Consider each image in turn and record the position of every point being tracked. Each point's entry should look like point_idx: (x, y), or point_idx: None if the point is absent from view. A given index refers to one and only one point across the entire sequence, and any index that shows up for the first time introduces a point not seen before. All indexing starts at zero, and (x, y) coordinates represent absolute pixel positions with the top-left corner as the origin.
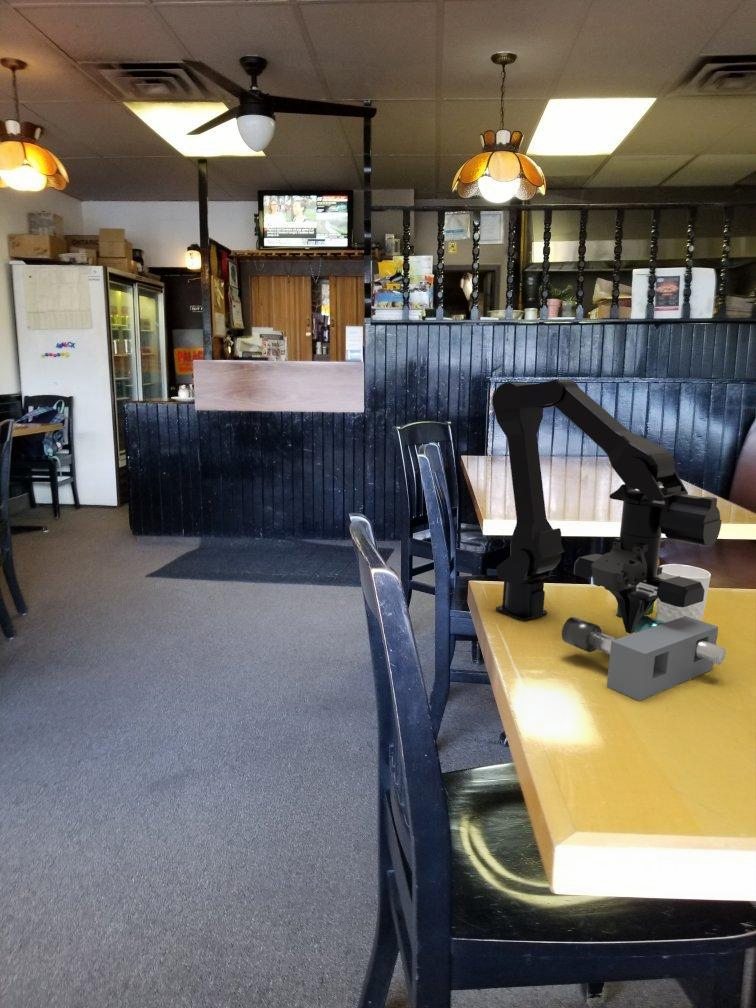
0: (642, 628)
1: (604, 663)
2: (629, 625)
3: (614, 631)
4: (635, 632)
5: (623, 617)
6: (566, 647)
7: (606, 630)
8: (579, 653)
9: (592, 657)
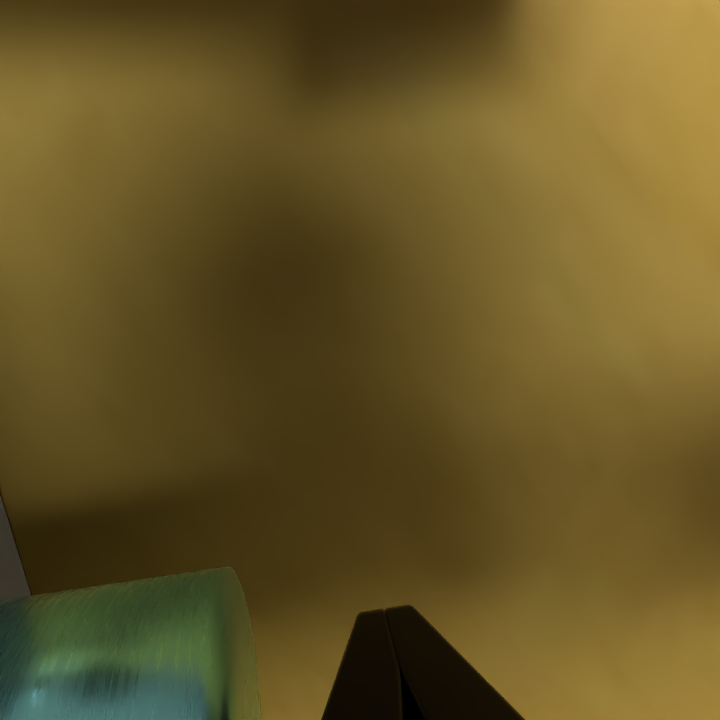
0: (84, 681)
1: (232, 99)
2: (373, 668)
3: (637, 674)
4: (200, 594)
5: (483, 712)
6: (664, 66)
7: (681, 639)
8: (509, 66)
9: (385, 108)
